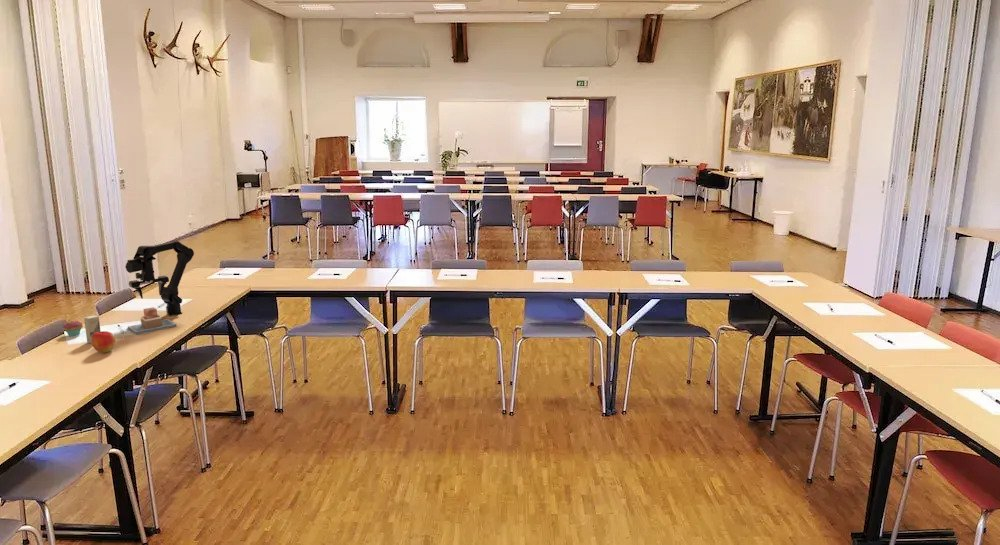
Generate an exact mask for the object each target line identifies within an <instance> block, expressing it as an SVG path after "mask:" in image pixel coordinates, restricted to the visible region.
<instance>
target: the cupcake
mask: <svg viewBox="0 0 1000 545" xmlns="http://www.w3.org/2000/svg"><path fill="white" fill-rule="evenodd" d="M66 315H67V318H68V321H67V322H66V323H65V324H63V326H62V329H63V331H65V332H66V333H67V335H68V336H69V337H77V336H79V335H80V334H81V329H82V328H83V327H84V325H83V323H82V322H80V321H78V320H71V318H70V315H69V314H68V313H66ZM76 335H77V336H76Z"/></svg>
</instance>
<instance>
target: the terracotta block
mask: <svg viewBox="0 0 1000 545" xmlns="http://www.w3.org/2000/svg"><path fill="white" fill-rule="evenodd" d="M157 314H158V309H157V308H156V307H155V306H153V307H152V306H151V307H149V308H148V307H147V308H143V316H144V317H145V319H151V318H157V317H158V316H157Z"/></svg>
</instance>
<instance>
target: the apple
mask: <svg viewBox="0 0 1000 545" xmlns="http://www.w3.org/2000/svg"><path fill="white" fill-rule="evenodd" d="M115 345H116V336H115V334H113V333H112V332H110V331H105V330H104V331H101V332H97V333H94V334H93V337H92V346H93V349H95V351H97V352H98V353H103V354H105V353H108V352H111V351H112V350H113V349H114V348H115Z"/></svg>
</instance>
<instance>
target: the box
mask: <svg viewBox="0 0 1000 545" xmlns="http://www.w3.org/2000/svg"><path fill="white" fill-rule="evenodd" d="M83 320H84V329H85V337H86V342H87V343H88V344H92V337H93V334H94V333H97V332H102V331H101V324H100V316H97V315H89V316H84V317H83Z"/></svg>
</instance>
